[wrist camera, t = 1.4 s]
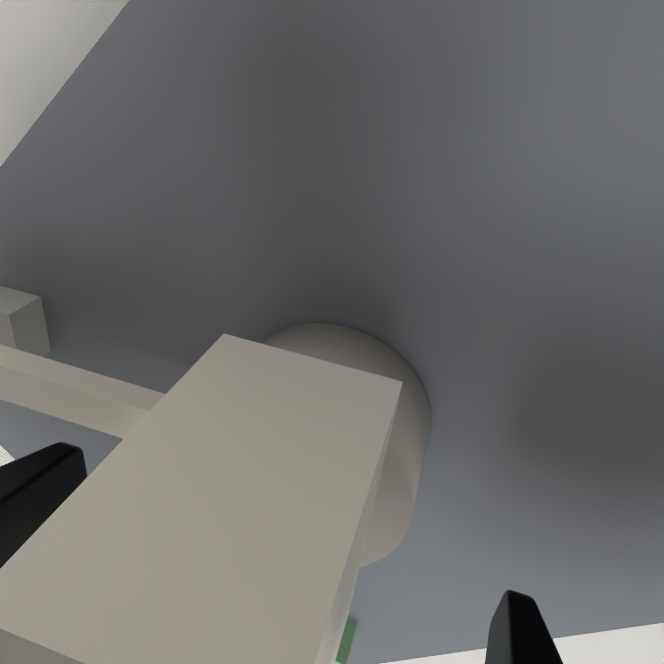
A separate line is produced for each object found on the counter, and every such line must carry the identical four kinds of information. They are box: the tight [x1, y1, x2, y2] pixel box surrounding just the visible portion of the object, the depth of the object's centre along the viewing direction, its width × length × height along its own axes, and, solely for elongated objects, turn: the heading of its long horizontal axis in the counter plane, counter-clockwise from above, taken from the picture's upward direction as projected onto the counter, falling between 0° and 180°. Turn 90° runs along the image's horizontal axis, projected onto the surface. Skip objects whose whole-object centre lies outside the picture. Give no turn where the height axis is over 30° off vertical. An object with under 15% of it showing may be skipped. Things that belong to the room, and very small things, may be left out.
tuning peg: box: [0, 323, 431, 664], centre depth 10 cm, size 12×6×8 cm, turn 84°
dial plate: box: [0, 0, 664, 664], centre depth 12 cm, size 22×17×3 cm
